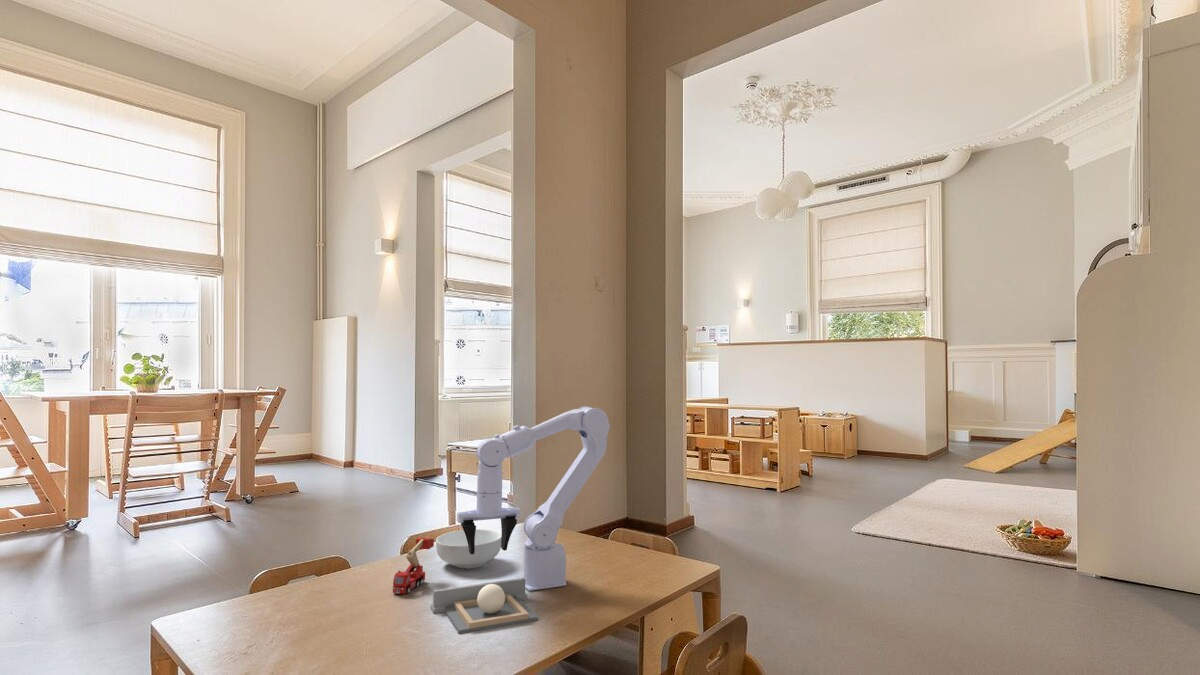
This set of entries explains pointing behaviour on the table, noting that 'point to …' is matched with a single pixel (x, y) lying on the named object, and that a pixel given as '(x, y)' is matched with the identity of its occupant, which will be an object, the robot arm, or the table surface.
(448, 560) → the cereal bowl
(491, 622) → the resting mat
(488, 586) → the ball
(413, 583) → the toy fire truck
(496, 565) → the table surface
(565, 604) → the table surface
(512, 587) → the grey barrier bar
